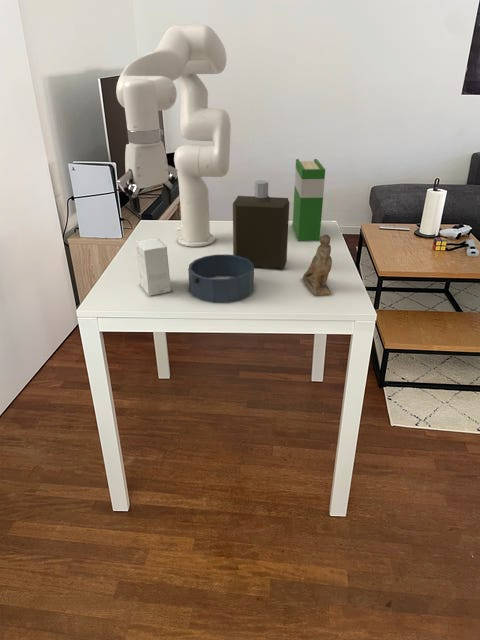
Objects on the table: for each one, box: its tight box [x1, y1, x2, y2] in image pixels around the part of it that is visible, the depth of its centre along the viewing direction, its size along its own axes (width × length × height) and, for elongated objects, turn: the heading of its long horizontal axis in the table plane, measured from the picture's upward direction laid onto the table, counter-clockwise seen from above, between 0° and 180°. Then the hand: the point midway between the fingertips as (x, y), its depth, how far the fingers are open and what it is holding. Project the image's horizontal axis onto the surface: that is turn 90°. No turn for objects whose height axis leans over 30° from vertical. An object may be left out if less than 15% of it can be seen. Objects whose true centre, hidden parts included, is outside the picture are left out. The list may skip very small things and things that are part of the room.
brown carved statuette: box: [302, 234, 333, 297], centre depth 127 cm, size 12×6×18 cm, turn 6°
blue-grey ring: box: [187, 253, 255, 304], centre depth 130 cm, size 18×20×6 cm
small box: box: [135, 237, 172, 297], centre depth 128 cm, size 8×6×13 cm
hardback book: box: [292, 158, 326, 242], centre depth 166 cm, size 18×7×24 cm, turn 1°
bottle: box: [232, 179, 290, 270], centre depth 140 cm, size 8×16×25 cm, turn 80°
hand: (151, 207), depth 122 cm, fingers open, 9 cm apart
